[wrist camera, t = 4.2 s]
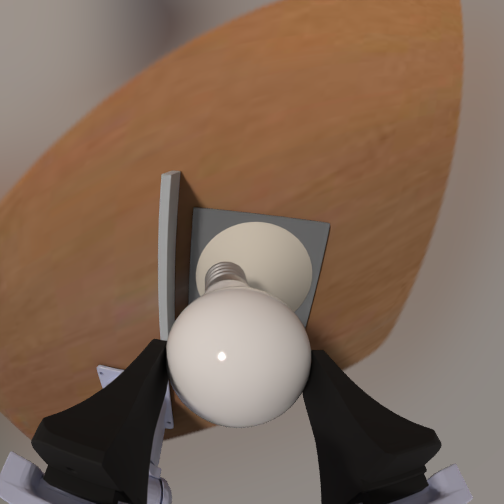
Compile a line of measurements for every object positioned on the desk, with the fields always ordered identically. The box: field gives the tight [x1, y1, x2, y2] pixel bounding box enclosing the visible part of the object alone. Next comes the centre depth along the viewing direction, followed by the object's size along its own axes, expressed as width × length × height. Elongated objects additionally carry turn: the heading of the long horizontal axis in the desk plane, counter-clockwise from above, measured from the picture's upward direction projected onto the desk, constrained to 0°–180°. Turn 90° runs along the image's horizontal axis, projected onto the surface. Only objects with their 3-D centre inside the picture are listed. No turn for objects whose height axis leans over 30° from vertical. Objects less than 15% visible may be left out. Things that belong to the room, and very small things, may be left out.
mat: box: [188, 207, 330, 328], centre depth 22 cm, size 10×10×1 cm
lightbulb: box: [165, 262, 311, 428], centre depth 14 cm, size 6×6×11 cm
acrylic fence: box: [158, 171, 181, 341], centre depth 20 cm, size 15×12×3 cm
